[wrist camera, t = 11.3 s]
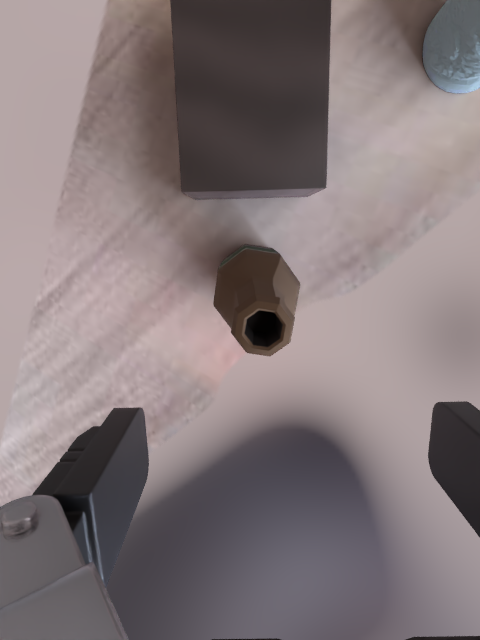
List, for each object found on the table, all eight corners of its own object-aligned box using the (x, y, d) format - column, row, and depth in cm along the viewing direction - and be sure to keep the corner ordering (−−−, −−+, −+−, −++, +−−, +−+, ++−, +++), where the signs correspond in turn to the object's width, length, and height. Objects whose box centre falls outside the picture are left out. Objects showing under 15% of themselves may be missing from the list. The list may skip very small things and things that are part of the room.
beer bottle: (207, 287, 45) (169, 352, 22) (241, 229, 43) (240, 231, 20) (263, 320, 46) (284, 417, 23) (298, 264, 44) (361, 306, 21)
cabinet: (187, 50, 39) (170, -4, 30) (310, 46, 39) (331, -10, 30) (195, 199, 43) (181, 192, 33) (307, 196, 43) (326, 188, 33)
